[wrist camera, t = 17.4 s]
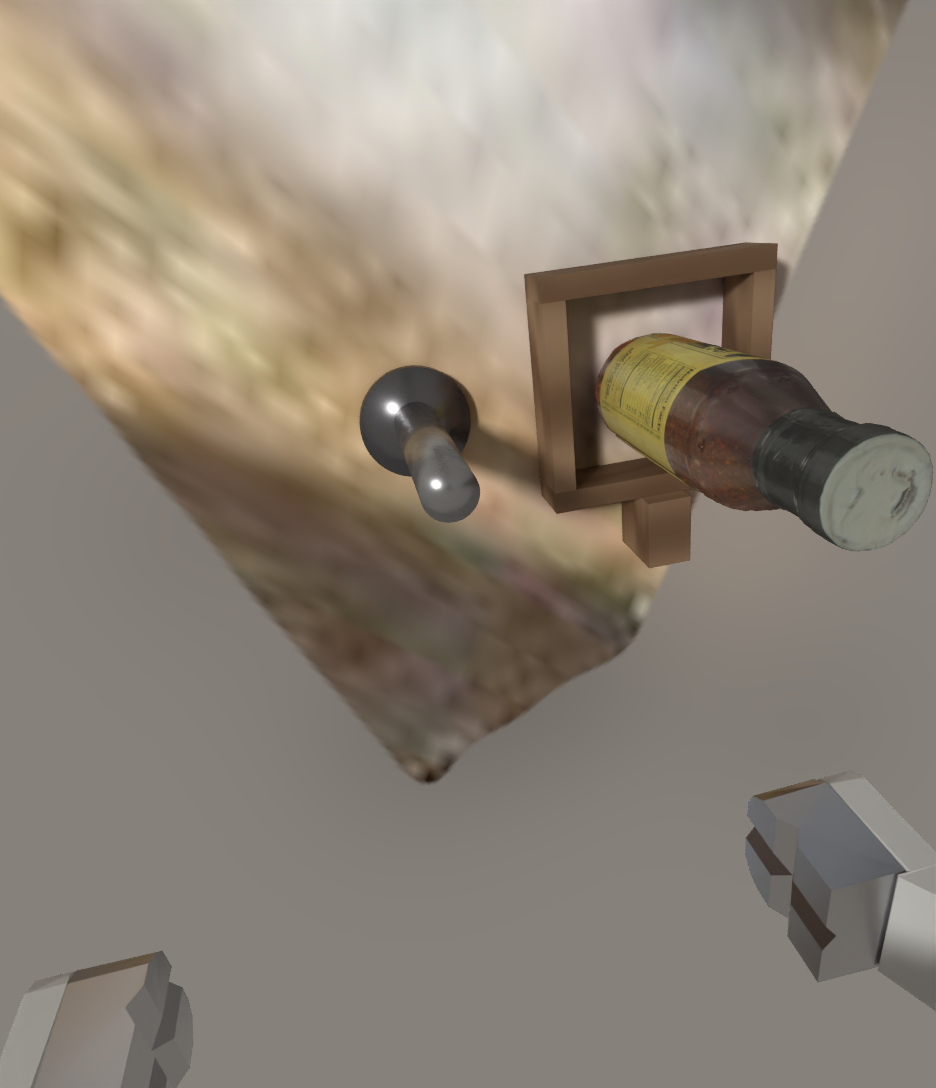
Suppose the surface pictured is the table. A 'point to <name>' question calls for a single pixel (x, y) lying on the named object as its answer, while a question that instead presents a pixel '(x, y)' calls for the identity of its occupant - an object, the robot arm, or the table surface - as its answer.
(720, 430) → the sauce bottle
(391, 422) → the grey plunger shape
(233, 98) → the table surface
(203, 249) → the table surface
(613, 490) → the wooden frame with handle
